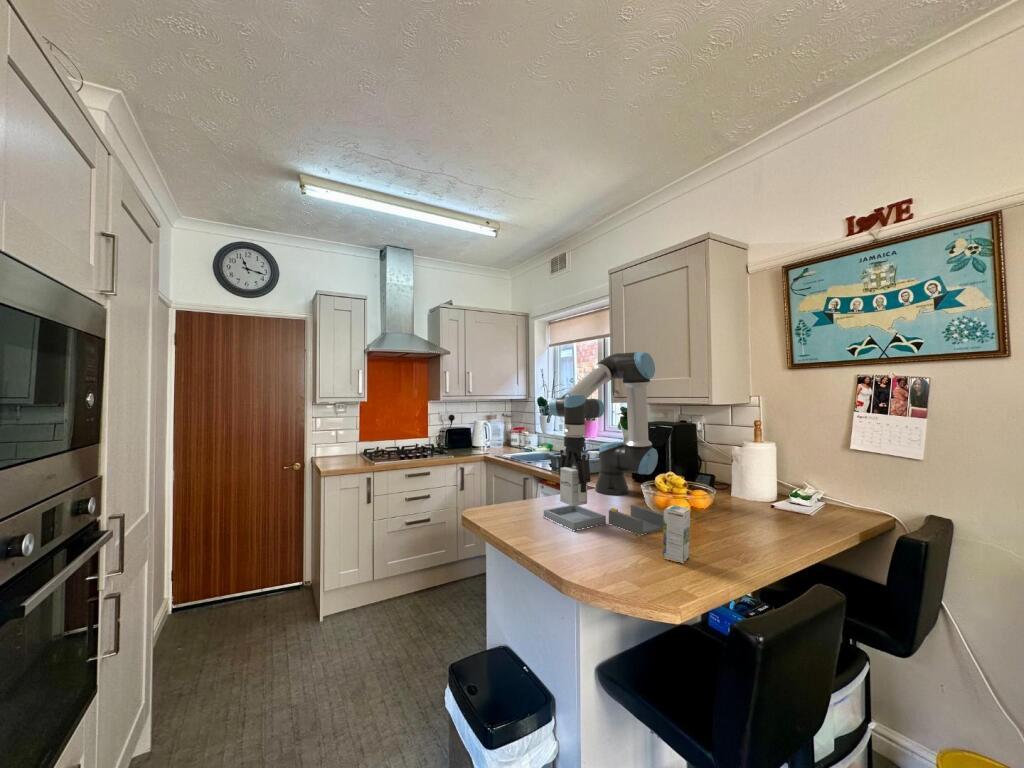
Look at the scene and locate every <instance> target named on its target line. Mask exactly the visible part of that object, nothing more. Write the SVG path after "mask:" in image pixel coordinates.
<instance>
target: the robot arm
mask: <svg viewBox="0 0 1024 768" xmlns="http://www.w3.org/2000/svg"><path fill="white" fill-rule="evenodd" d="M655 365H656V364H655V361H654V359H653V357H652V356H651V354H650V353H648V352H645V351H636V352H635V351H634V352H617V353H613V354H611V355H608V356H606V357H604V358H603V359H601V360H600V361H598V362H597V363H596V364H594V366H593V367H592V369H591V371H590V372H589V373H588V374H586V375H585V376H584V377H583V378H582V379H581V380H579V381H578V382H577V383H576V384H575V385H573V387H571V389H569V390H568V391H566V393H565V394H563V395H562V396H561V397H553V398H551V399H550V401H549V403H548V411H549V413H550V415H552V416H554V417H559V418H561V417H562V418H564V422H563V424H564V426H563V429H564V431H563V433H564V435H565V436H564V437H563V446H564V447H565V449H560V450H559V455H560V457H559V467H558V468H559V469H558V476H560V474H561V468H563V467H572V466H573V464H574V466H576V469H577V470H578V477H579V481H580V482H578V502H582V501H585V492H586V483H587V484H588V483H591V481H592V480H591V479H592V478H591V469H590V454H589V453H585V452H584V447H585V446H586V445H585V444H586V440H585V439H586V437H585V435H586V420H588V419H594V420H596V419H598V418H601V417H602V416H604V412H605V409H606V408H605V404H604V402H603V401H602V400H601V399H598V398H589V397H590V396H591V395H592V394H594V392H596V391H597V390H598V389H599V388H600V387H601V386H602V385H603V384H607V383H609V382H610V381H611V380H620V379H621V380H622V384H623V385H624V386H625V387H626V409H627V410H626V412H627V435H628V437H627V441H609V442H603V443H601V444H600V445H599V451H598V454H599V456H598V459H599V460H598V461H599V462H598V463H599V467H598V468H599V471H598V473H599V475H598V477H597V481H596V484H595V492H597V493H599V494H603V495H609V496H620V495H621V496H623V495H626V494H629V486H628V482H627V479H626V472H629V473H633V474H639V475H651V474H652V473H653V472H654V471H655V469H656V467H657V464H658V460H659V454H658V451H657V449H655V448H654V447H653V443H652V442H651V441H650V440H649V424H648V423H649V422H648V421H649V419H648V418H649V417H648V416H649V415H648V396H647V395H648V393H647V390H648V389H647V388H648V387H647V386H648V385H649V384H650V382H651V379H652V378H653V377H654V376H655V373H656V366H655ZM582 479H583V480H582Z"/></svg>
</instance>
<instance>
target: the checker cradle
mask: <svg viewBox="0 0 1024 768" xmlns="http://www.w3.org/2000/svg"><path fill="white" fill-rule="evenodd" d="M610 524H612V525H611V526H613V525H615V526H617V527H616V528H618V527H620V528H623V529H625V530H628V531H631V532H633V533H636V534H639V535H641V534H645V533H649V534H651V533H650V532H652V533H655V532H654V531H656V532H658V530H660V531H662V530H661V529H663V528H664V513H662V512H658V511H655V510H652V509H649V508H646V507H643V506H640V505H636V504H631V505H630V515H629V514H627V513H624V512H621V511H619V509H618V508H614V507H610V509H608V525H610ZM615 526H614V527H615ZM620 528H619V529H620ZM623 529H622V530H623ZM625 530H624V531H625ZM628 531H627V532H628ZM631 532H630V533H631ZM633 533H632V534H633ZM636 534H635V535H636ZM645 535H646V534H645Z"/></svg>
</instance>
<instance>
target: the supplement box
mask: <svg viewBox="0 0 1024 768" xmlns="http://www.w3.org/2000/svg"><path fill="white" fill-rule="evenodd" d="M559 476H560V477H559V478H560V479H559V481H560V483H559V487H560V488H559V490H560V491H559V502H561V503H564V504H566V505H570V506H577V505H578V506H582V505H587V504H588V482H587V483H586V492H585V501H582V502H578V482H580V481H579V477H578V470H577V469H576V465H572V467H563V468H561V474H560V475H559ZM582 480H583V479H582Z"/></svg>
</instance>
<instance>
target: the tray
mask: <svg viewBox="0 0 1024 768" xmlns="http://www.w3.org/2000/svg"><path fill="white" fill-rule="evenodd" d="M544 516H545V517H547V518H549V519H551V520H553V521H555V522H557V523H559V524H562V525H563V526H566V527H568V528H570V529H572V530H577V529H582V528H587V527H591V526H595V527H597V526H596V525H600V526H602V525H601V524H604V525H606V523H607V522H606V520H607V518H606V517H607V515H606V514H602V513H599V512H597V511H593V510H592V509H588V508H586V507H583V506H582V505H577V506H570V505H568V504H566V505H564V506H563V505H562V506H558V507H553V508H547V509H543V517H544ZM591 528H592V527H591ZM587 529H588V528H587Z"/></svg>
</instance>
